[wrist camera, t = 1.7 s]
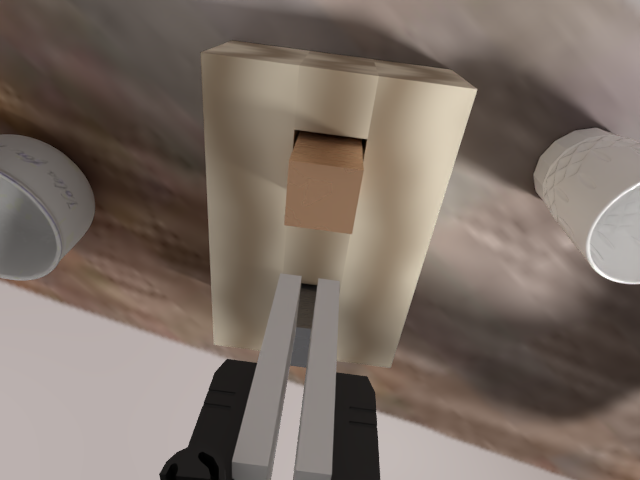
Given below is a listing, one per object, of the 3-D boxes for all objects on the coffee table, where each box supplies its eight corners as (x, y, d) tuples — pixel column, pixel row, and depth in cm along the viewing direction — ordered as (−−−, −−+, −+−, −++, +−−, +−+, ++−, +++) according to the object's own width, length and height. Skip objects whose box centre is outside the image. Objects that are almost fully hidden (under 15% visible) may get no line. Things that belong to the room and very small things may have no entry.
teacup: (127, 169, 34) (72, 211, 28) (93, 252, 40) (40, 305, 33) (-41, 74, 31) (-150, 96, 24) (-53, 179, 36) (-147, 221, 29)
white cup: (518, 140, 31) (582, 196, 22) (631, 103, 29) (748, 148, 20) (531, 223, 34) (589, 297, 26) (631, 195, 33) (730, 265, 24)
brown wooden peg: (361, 135, 26) (363, 170, 21) (351, 190, 28) (352, 234, 23) (301, 127, 26) (289, 160, 21) (296, 183, 28) (284, 225, 23)
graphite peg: (336, 279, 32) (334, 332, 27) (330, 314, 34) (326, 370, 29) (288, 272, 32) (276, 324, 27) (285, 308, 34) (273, 363, 29)
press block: (451, 69, 28) (477, 89, 22) (384, 314, 41) (390, 367, 35) (232, 40, 28) (200, 52, 22) (233, 294, 41) (213, 344, 35)
